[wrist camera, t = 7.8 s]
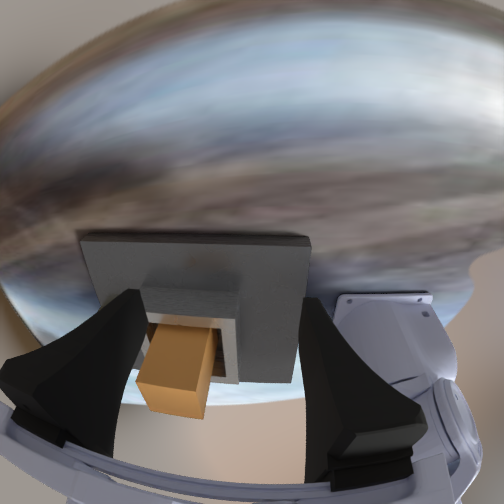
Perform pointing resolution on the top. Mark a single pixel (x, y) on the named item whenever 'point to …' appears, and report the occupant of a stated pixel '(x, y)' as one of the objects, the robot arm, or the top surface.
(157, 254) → the grey socket base
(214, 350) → the wedge pin
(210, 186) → the top surface
